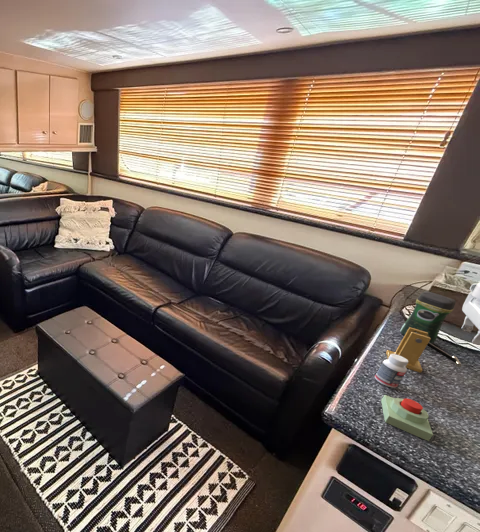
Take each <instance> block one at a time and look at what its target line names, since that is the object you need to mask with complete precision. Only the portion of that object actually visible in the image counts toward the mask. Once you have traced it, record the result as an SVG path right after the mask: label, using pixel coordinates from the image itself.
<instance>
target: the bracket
mask: <svg viewBox="0 0 480 532" xmlns="http://www.w3.org/2000/svg"><path fill="white" fill-rule="evenodd" d="M414 331H416V332H418V333H420V334H417V333H414ZM427 335H428V332H424V331H421V330H418V329H414V328H411V327H409V329H408V330H407V332H406V334H405V335H403V338H402V339H401V341H400V343H399V345H398V346H397V348H396V350H395V351H392V350H389V349H387V350H386V351H385V354H386V358H387V359H388V358H389V356H390V354H397V355H400V356H402V357H404V358H406V359H407V360H408V364H407V365H406V366H405V367H406V369H407V370H411V371H413V372H416V373H420V374H421V373H422V372H423V368H422V365H421V363H420V360H419V359H420V358H421V356H422V355H423V353H424V351H425V350H426V347H428V346H427V344H428V343H429V341H430V339H431V338H430V337H427Z"/></svg>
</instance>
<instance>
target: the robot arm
mask: <svg viewBox="0 0 480 532" xmlns="http://www.w3.org/2000/svg"><path fill="white" fill-rule="evenodd" d="M469 290H470V292H469V293H468V295H467V296H466V298H465V300H464V302H463V304H462V306H461V307H462V308H461V311H462V313H464V315H465V317H464V321H463V324H462V326H461V330H462V331H464V332H467V333H472V332H473V329H474V326H475V328H477V329H478V331H477V333H476V335H475V336H474V335H473V336H472V337H471V339H470V342H471V343H472V344H473V345H476V346H480V281H479V282H478V283H472V284H471V285H470V287H469Z"/></svg>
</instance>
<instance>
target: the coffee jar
mask: <svg viewBox="0 0 480 532" xmlns="http://www.w3.org/2000/svg"><path fill="white" fill-rule="evenodd" d="M456 302H457V301H456V299H454V298H451V297H447V296H444V295H441V294H439V293H434V292H431V291H428V290H427V291H422V292H421V293H420V294H419V296H418V297H417V298H416V300H415V305H414V308H413V310H412V312H411V313H410V315H409V317H407V319H406V320H405V322H404V323H403V324H402V326H401V328H400V330H399V332H400V333H401V334H402V335H403V336H405V334H406V332H407V330H408V329H409V327H411V328H414V329H418V330H421V331H424V332H428V335H427V337H430V338H431V339H430V341H429V343H431V344H434V343H435V341H436V340H437V338H438V336H439V333H440V330H441V328H442V326H443V324H444V322H445V319H446V317H447V316H448V315H449V314H451V313H452V312H453V311H454V309H455V306H456Z"/></svg>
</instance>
